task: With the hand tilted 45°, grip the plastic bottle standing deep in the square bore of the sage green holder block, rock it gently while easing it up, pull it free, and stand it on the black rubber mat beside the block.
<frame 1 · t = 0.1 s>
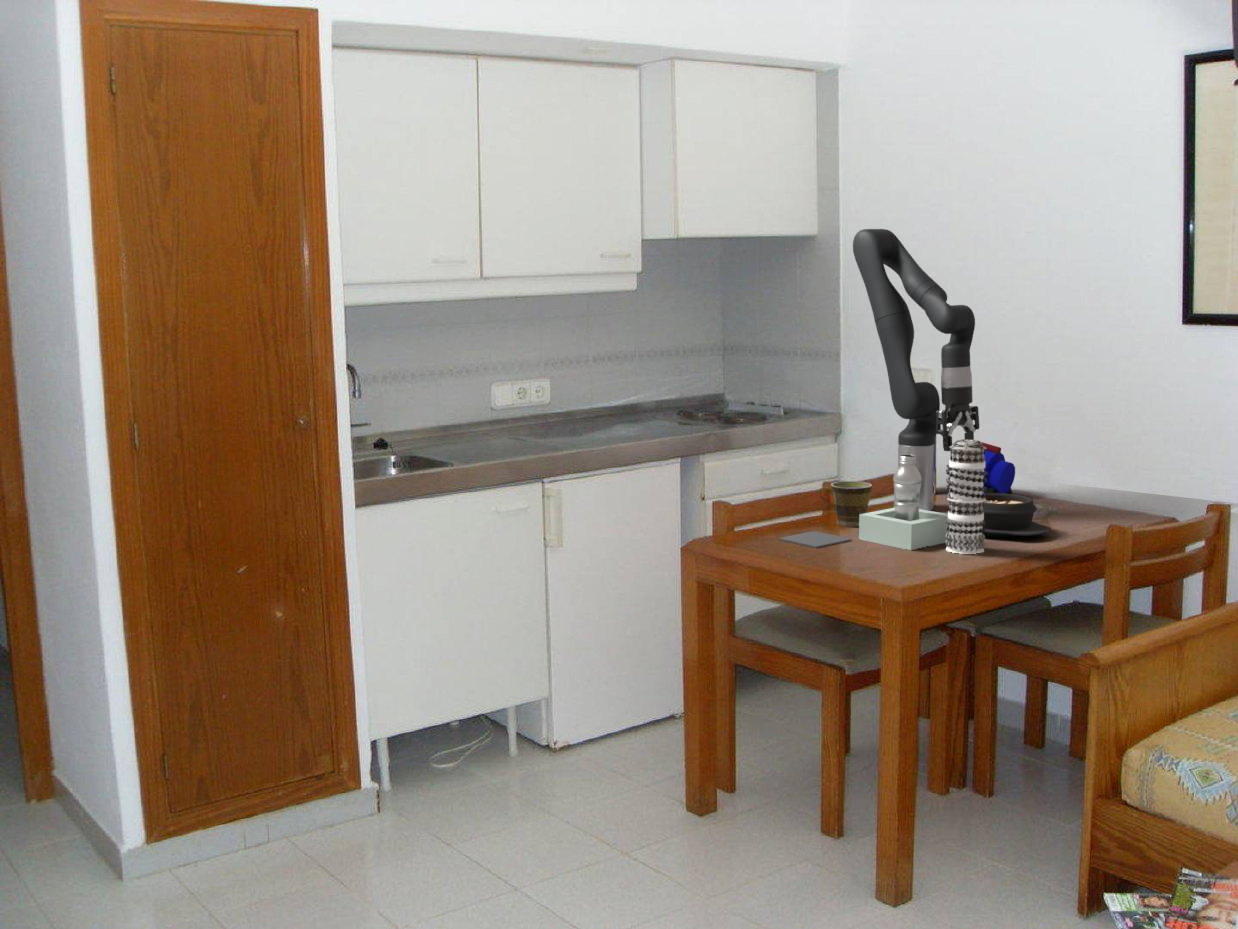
hand: (958, 449, 328), 17 cm above the table, tool pointing down, fingers open, 8 cm apart
ceramic cup: (844, 525, 323), on the table
holder block: (906, 540, 304), on the table
black and white cylinder: (964, 551, 293), on the table
casserole: (998, 533, 311), on the table
rubber mat: (815, 540, 305), on the table
coffee box: (918, 493, 365), on the table
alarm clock: (988, 496, 358), on the table
plastic bottle: (906, 540, 304), resting in holder block
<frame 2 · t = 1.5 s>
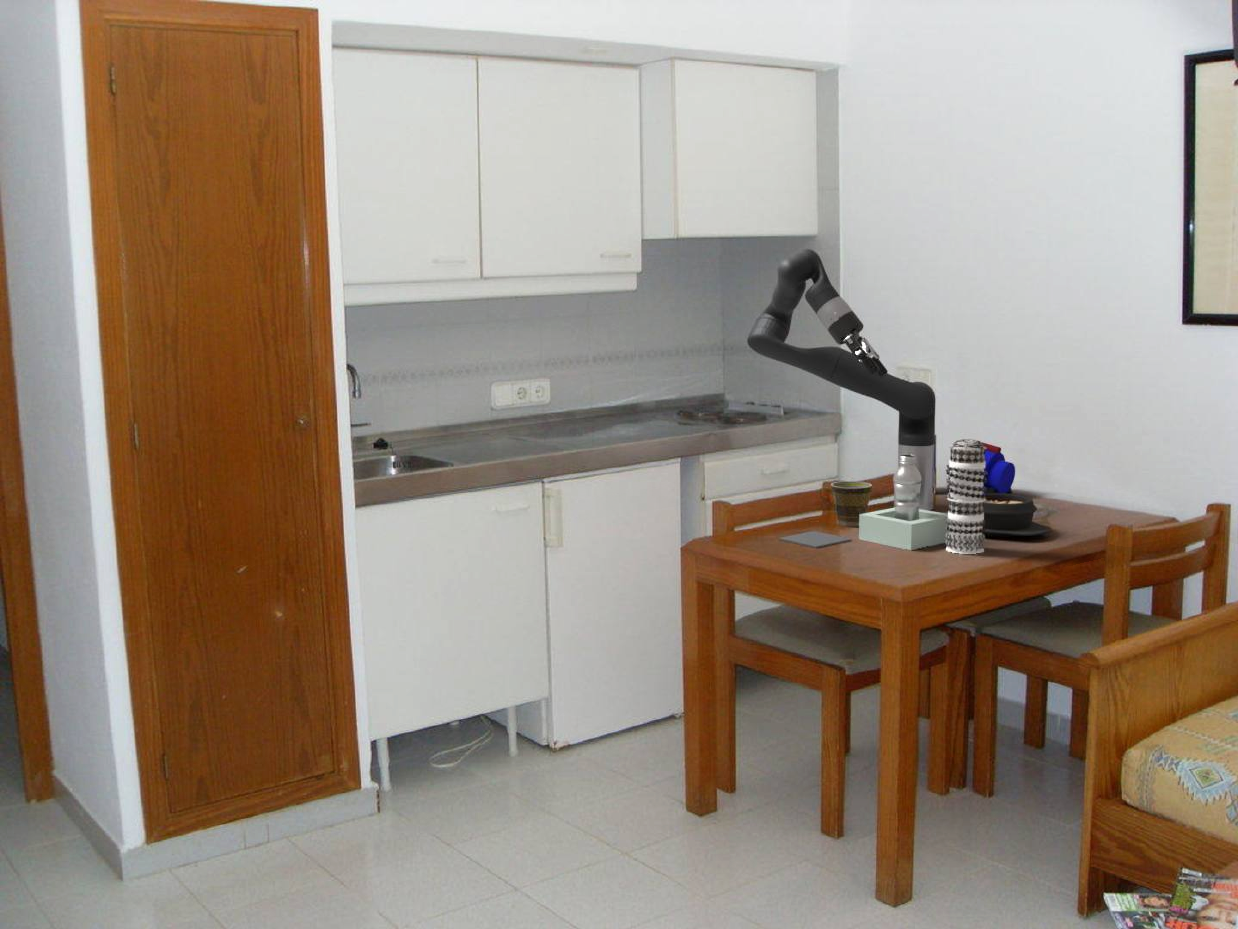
hand: (880, 373, 305), 39 cm above the table, tool tilted 40°, fingers open, 8 cm apart
nothing on the table moved.
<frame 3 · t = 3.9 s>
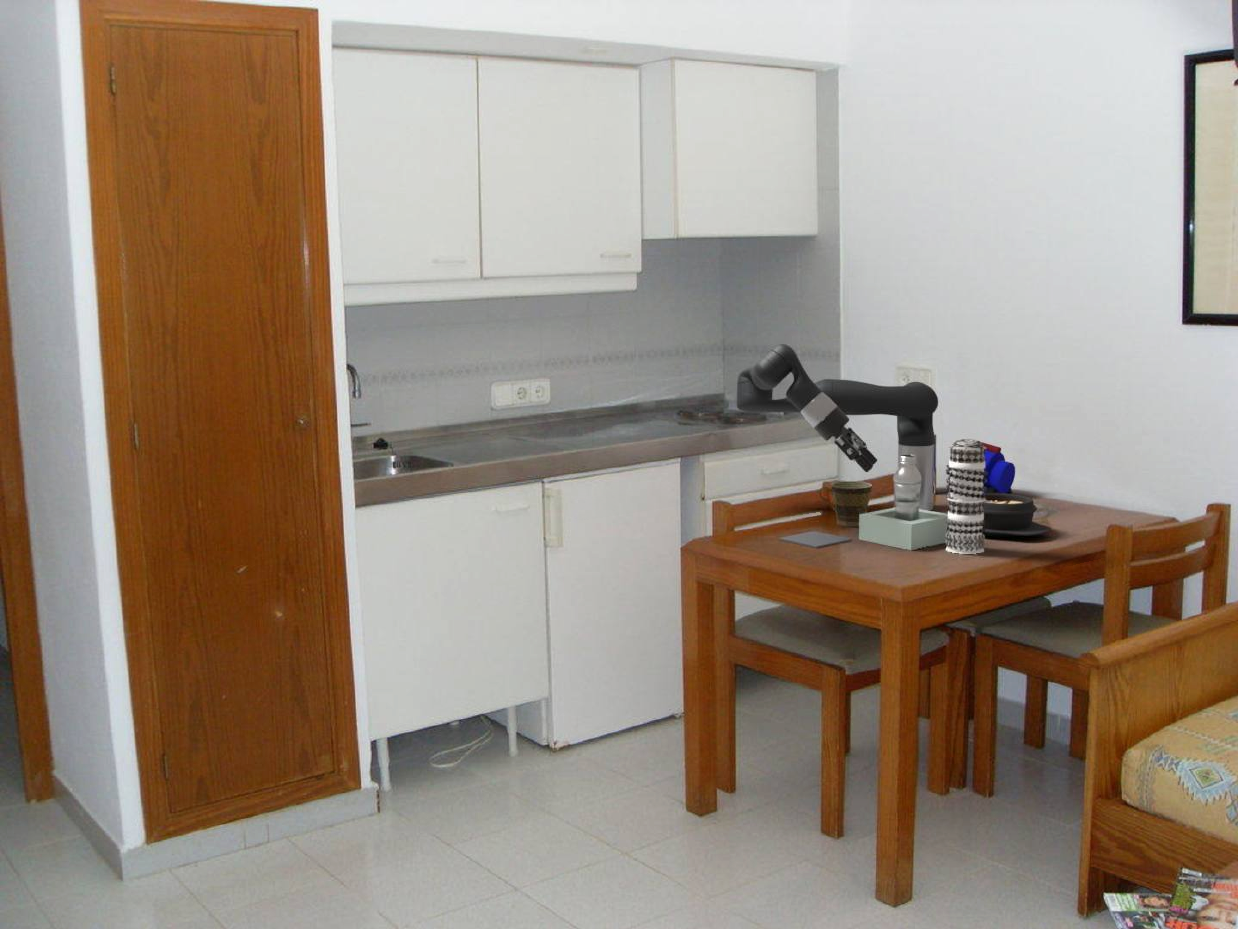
hand: (872, 466, 303), 17 cm above the table, tool tilted 45°, fingers open, 8 cm apart
nothing on the table moved.
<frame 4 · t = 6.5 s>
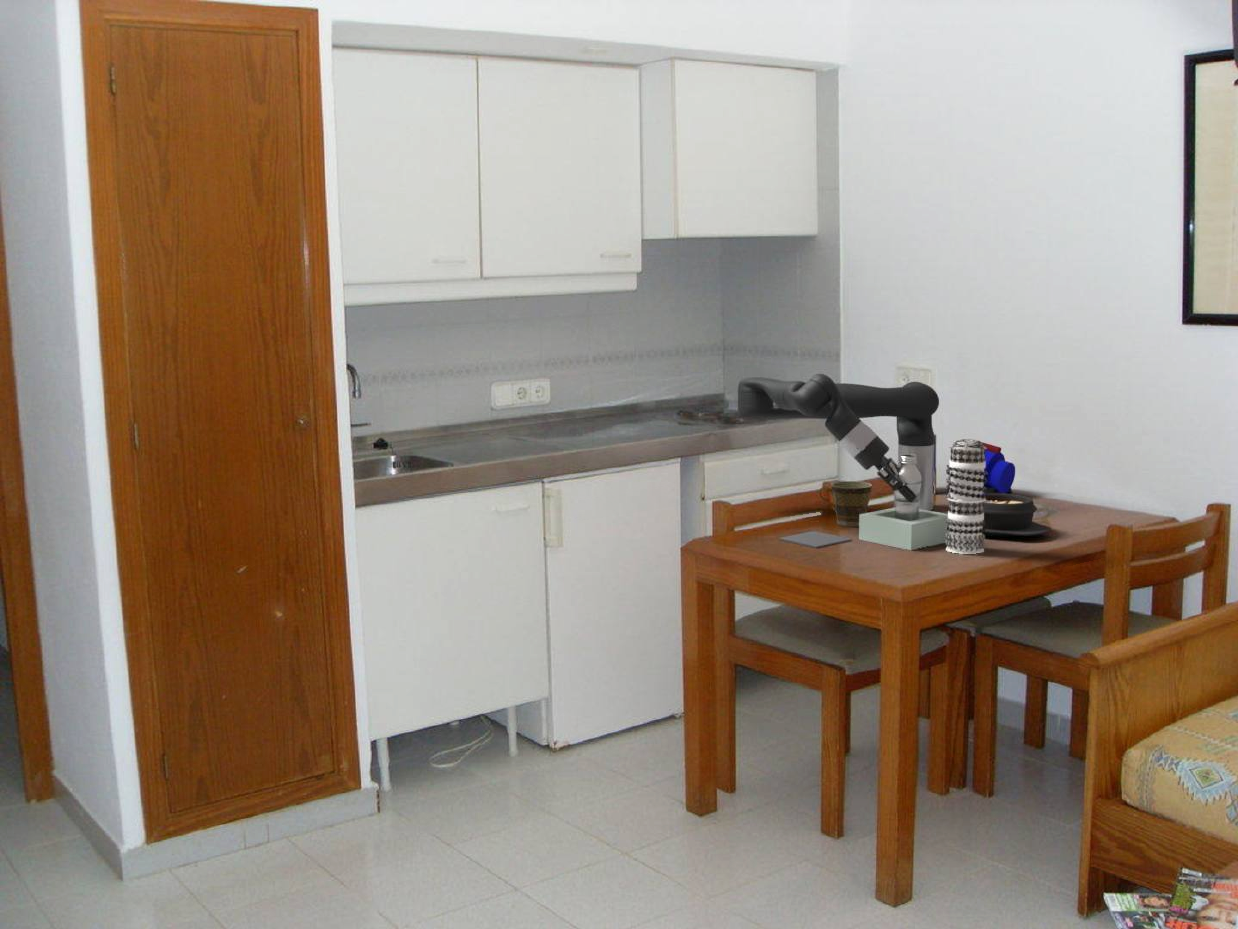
hand: (914, 496, 302), 10 cm above the table, tool tilted 45°, fingers closed on plastic bottle, 6 cm apart
plastic bottle: (906, 540, 304), resting in holder block, touching gripper
everything else where it was.
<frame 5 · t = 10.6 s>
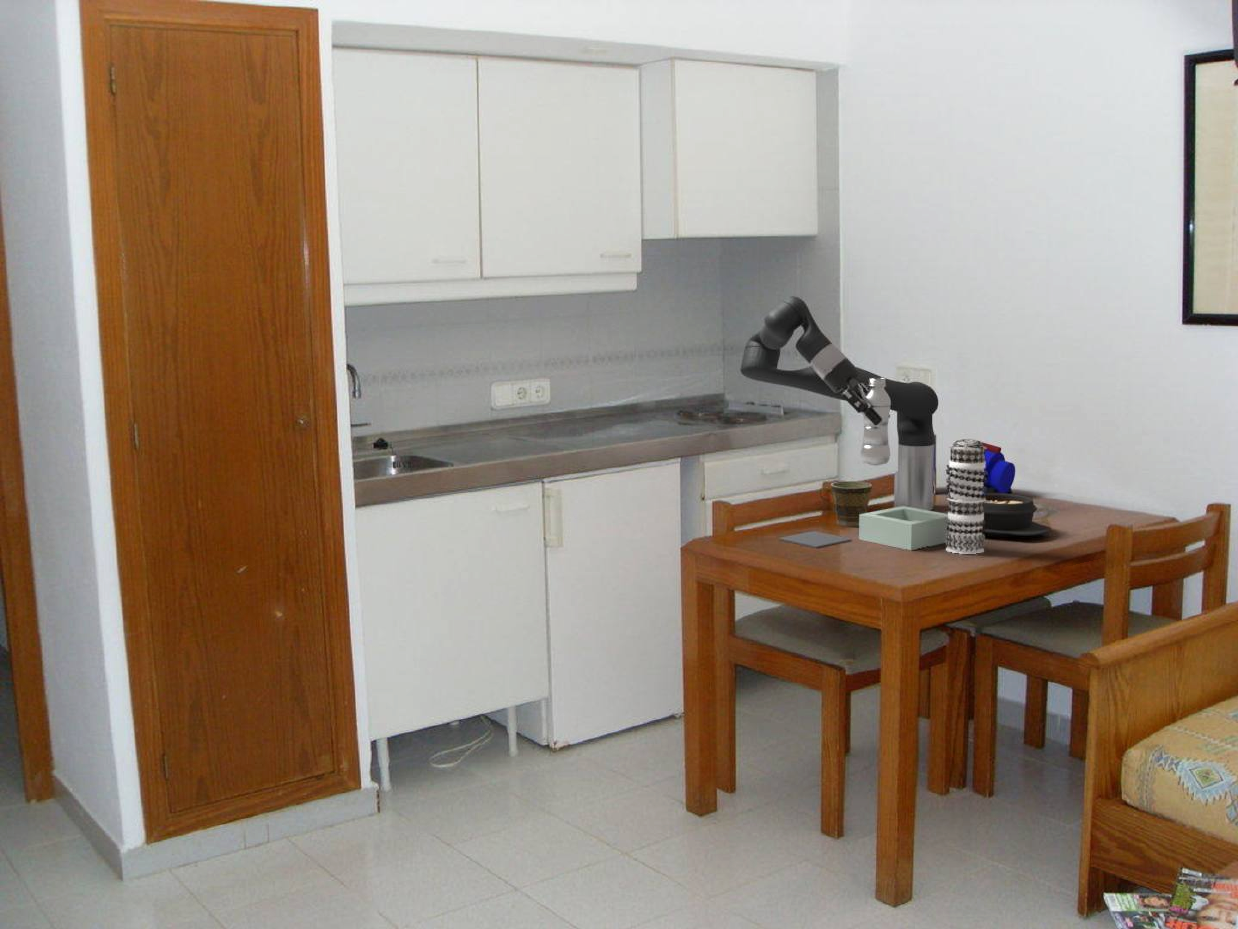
hand: (883, 421, 298), 28 cm above the table, tool tilted 45°, fingers closed on plastic bottle, 6 cm apart
plastic bottle: (875, 465, 300), point 18 cm above the table, touching gripper
everything else where it was.
when the fingers open (12 cm above the table, at t = 15.1 s): plastic bottle drops 1 cm, resting on rubber mat.
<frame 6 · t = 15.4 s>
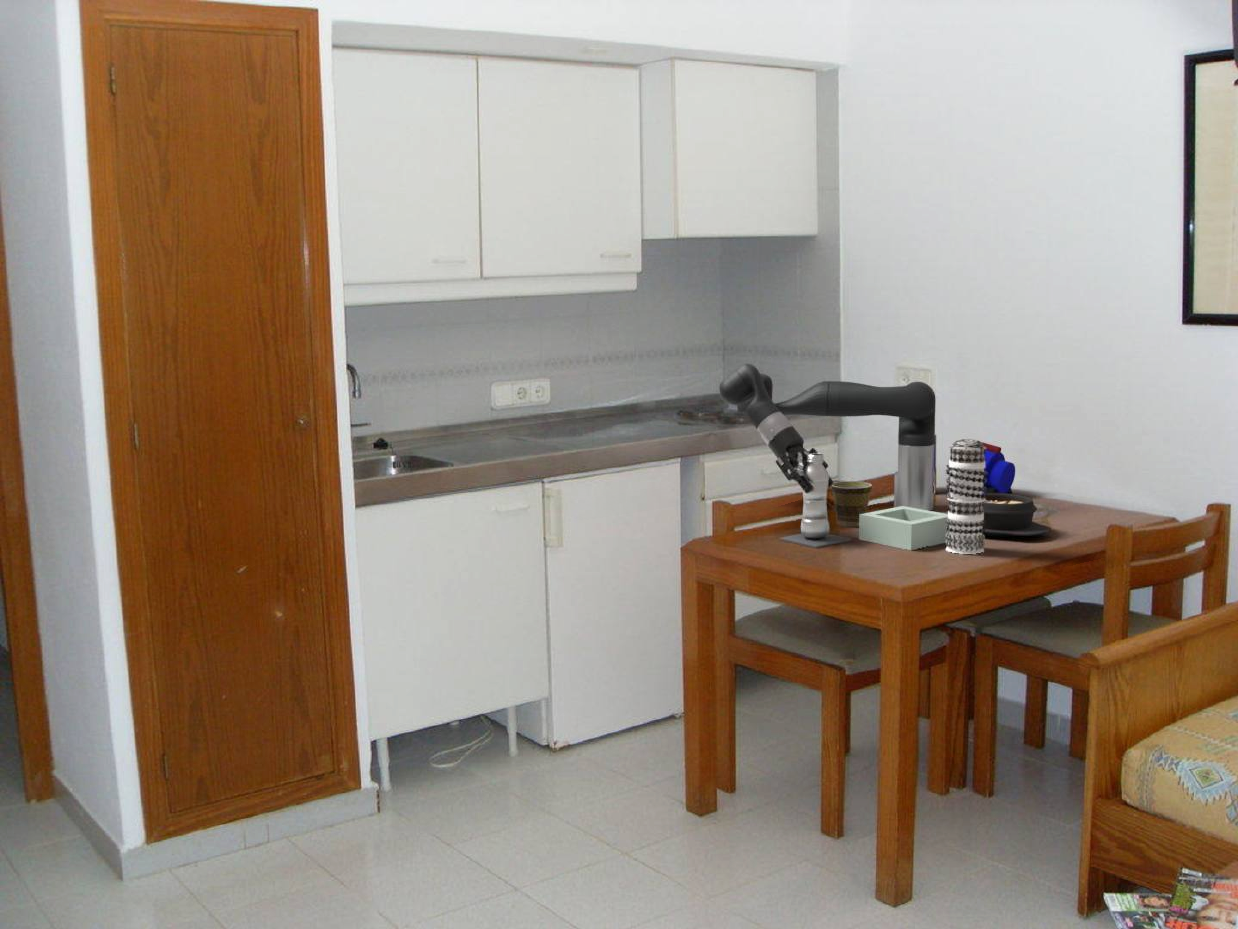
hand: (820, 488, 302), 13 cm above the table, tool tilted 45°, fingers open, 8 cm apart
plastic bottle: (814, 539, 306), resting on rubber mat
everything else where it was.
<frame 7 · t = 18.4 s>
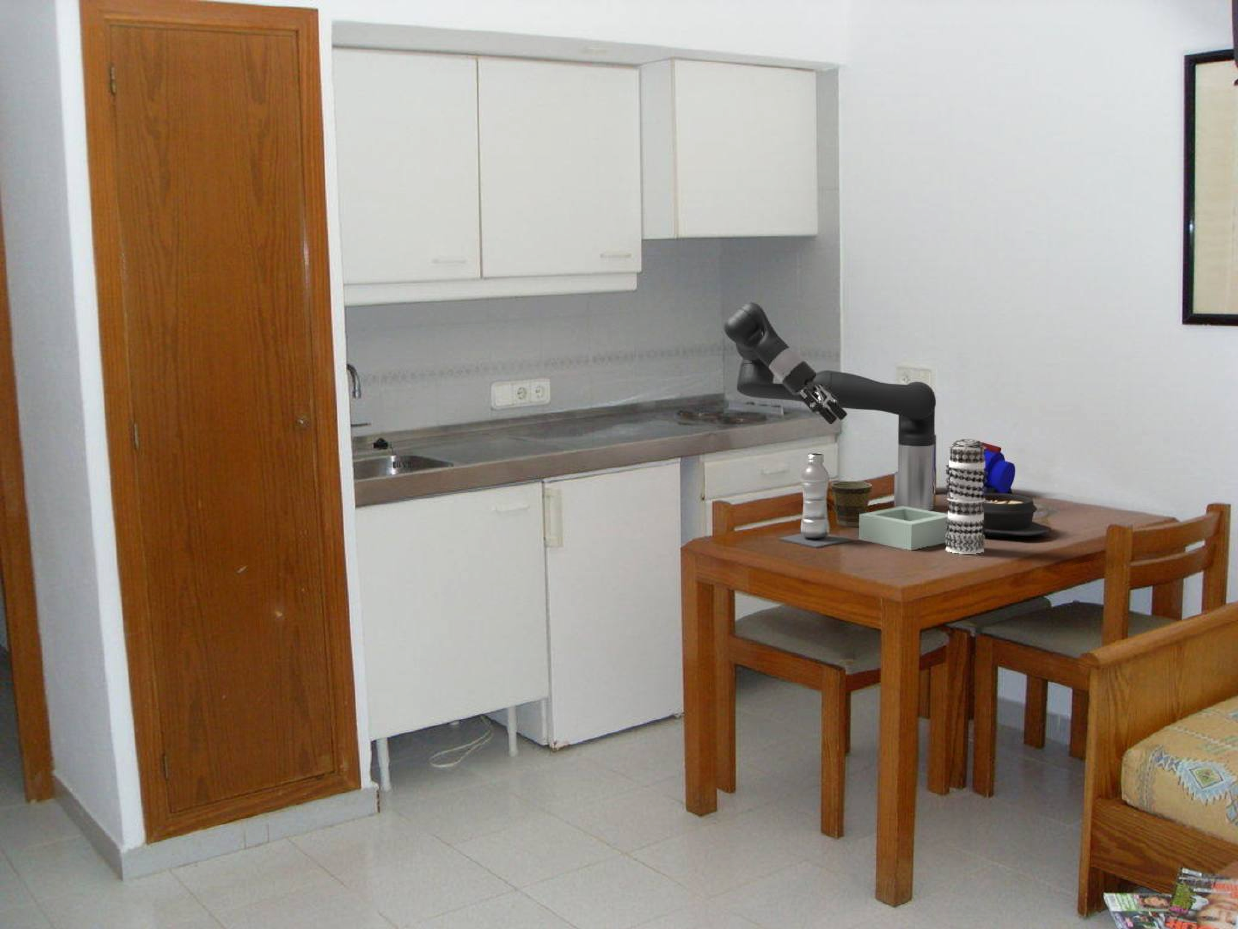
hand: (839, 419, 307), 28 cm above the table, tool tilted 45°, fingers open, 8 cm apart
nothing on the table moved.
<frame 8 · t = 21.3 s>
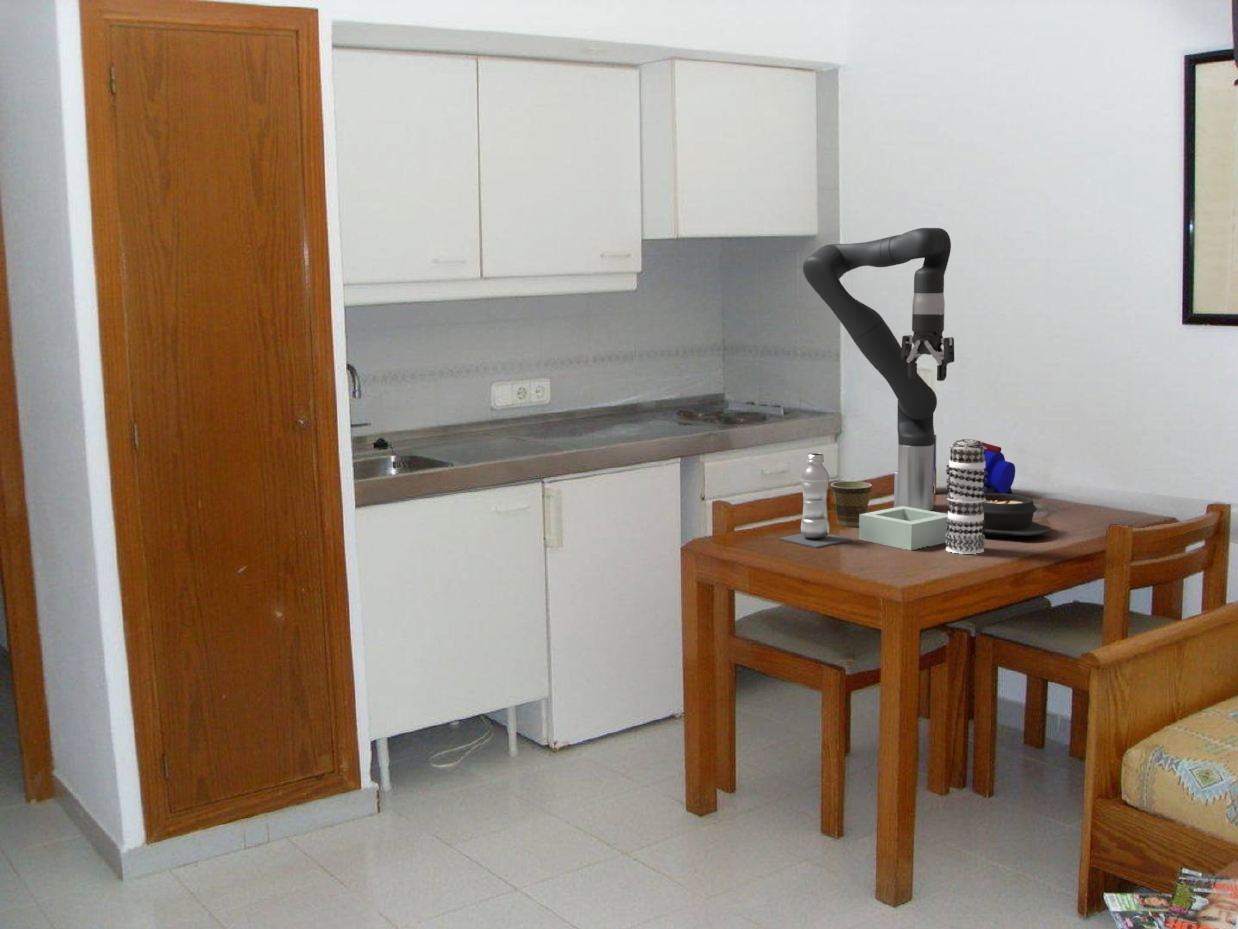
hand: (926, 379, 314), 36 cm above the table, tool pointing down, fingers open, 8 cm apart
nothing on the table moved.
at the end: plastic bottle inside the target area on the rubber mat (0.4 cm from its centre), point 0.2 cm above the rubber mat's base; plastic bottle tilted 0°; the gripper is holding nothing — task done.
